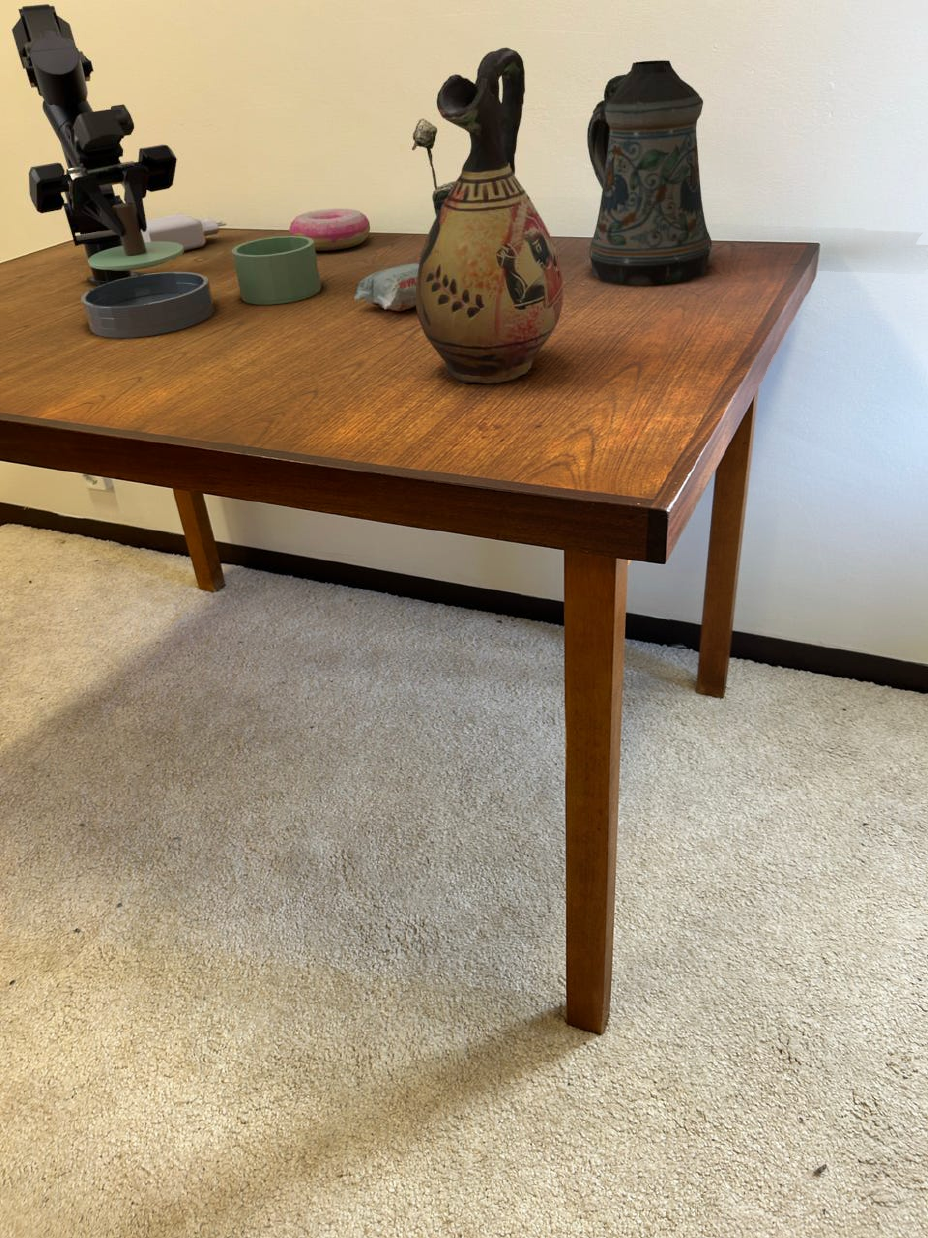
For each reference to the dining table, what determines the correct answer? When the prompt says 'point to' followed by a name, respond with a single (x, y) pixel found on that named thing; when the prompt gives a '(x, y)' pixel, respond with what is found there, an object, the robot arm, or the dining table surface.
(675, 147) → the beer stein
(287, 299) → the green cylinder
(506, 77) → the ceramic jug
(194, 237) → the charger
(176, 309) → the pan
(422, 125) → the plant with pod
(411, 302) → the packaged food
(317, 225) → the donut
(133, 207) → the lid
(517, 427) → the dining table surface
